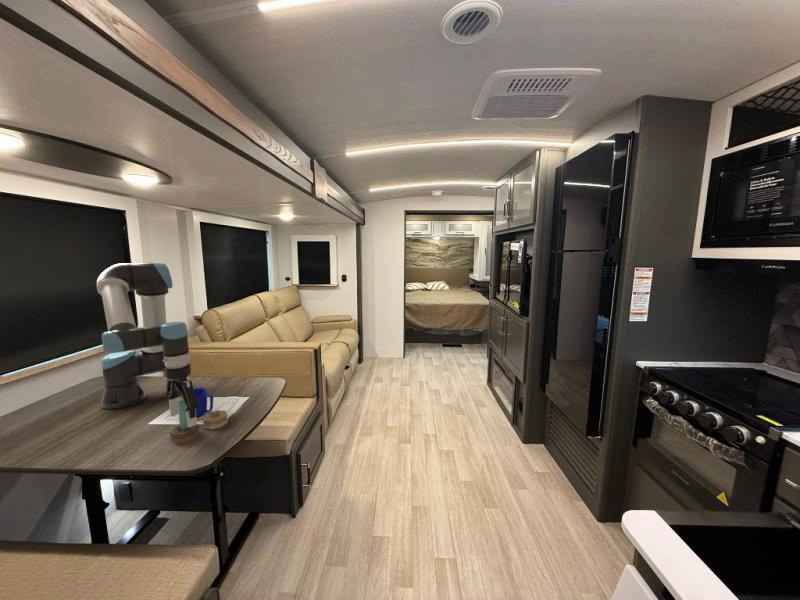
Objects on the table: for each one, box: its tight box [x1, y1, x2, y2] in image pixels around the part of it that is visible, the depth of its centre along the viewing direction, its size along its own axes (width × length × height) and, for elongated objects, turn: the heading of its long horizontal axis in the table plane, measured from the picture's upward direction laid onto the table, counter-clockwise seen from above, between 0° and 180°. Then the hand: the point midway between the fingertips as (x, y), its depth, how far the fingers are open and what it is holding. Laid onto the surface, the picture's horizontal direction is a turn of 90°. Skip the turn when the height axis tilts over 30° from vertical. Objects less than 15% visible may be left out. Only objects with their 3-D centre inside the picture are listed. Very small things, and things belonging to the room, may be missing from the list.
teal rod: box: [176, 395, 189, 431], centre depth 114 cm, size 2×2×16 cm
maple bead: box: [202, 409, 229, 430], centre depth 124 cm, size 8×8×4 cm
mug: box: [186, 387, 214, 418], centre depth 131 cm, size 8×12×10 cm
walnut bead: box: [169, 423, 200, 445], centre depth 115 cm, size 8×8×4 cm
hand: (183, 420), depth 115 cm, fingers open, 13 cm apart
